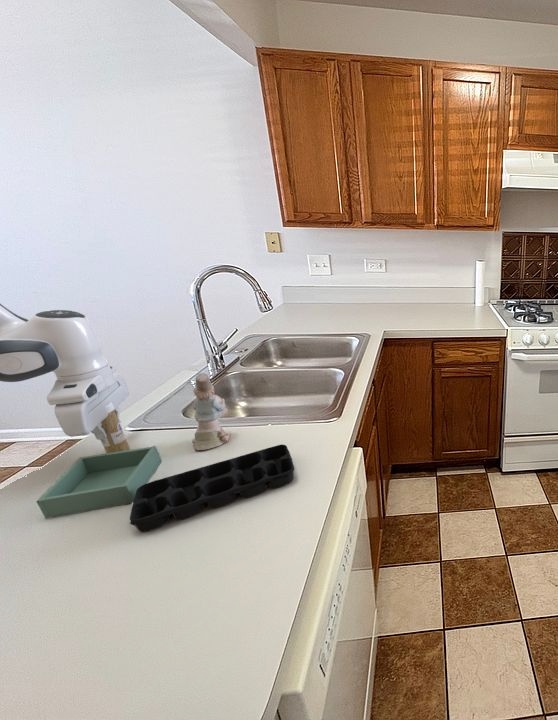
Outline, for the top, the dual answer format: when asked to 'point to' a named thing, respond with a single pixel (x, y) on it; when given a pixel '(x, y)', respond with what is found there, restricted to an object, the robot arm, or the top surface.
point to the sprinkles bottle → (113, 432)
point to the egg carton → (210, 487)
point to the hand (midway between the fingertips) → (109, 431)
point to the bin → (100, 482)
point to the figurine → (208, 415)
